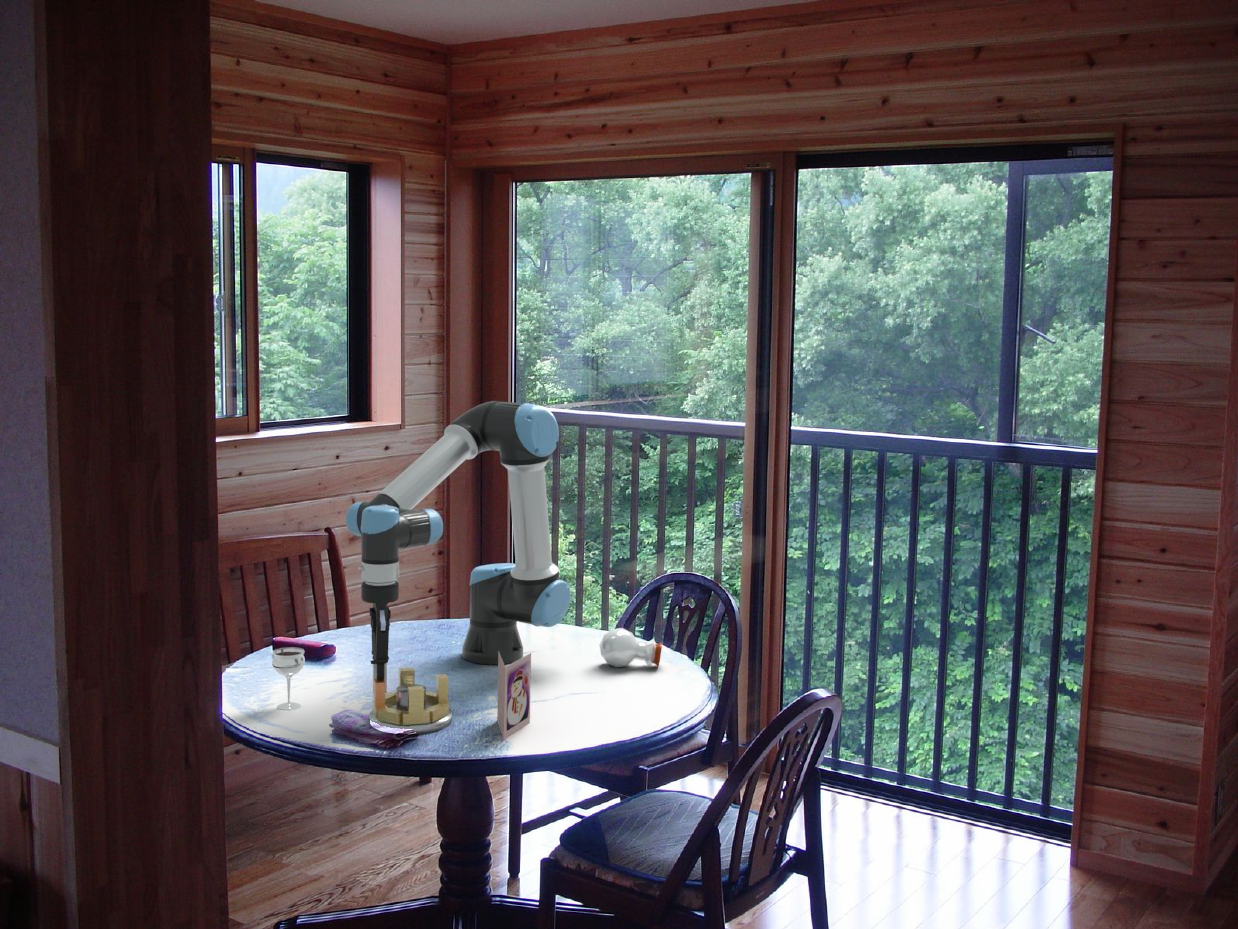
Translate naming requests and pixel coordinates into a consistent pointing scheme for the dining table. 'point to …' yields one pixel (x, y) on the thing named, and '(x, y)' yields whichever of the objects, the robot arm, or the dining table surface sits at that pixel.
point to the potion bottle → (628, 649)
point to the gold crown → (411, 701)
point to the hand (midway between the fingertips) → (379, 692)
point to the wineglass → (288, 669)
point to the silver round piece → (403, 706)
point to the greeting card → (513, 695)
